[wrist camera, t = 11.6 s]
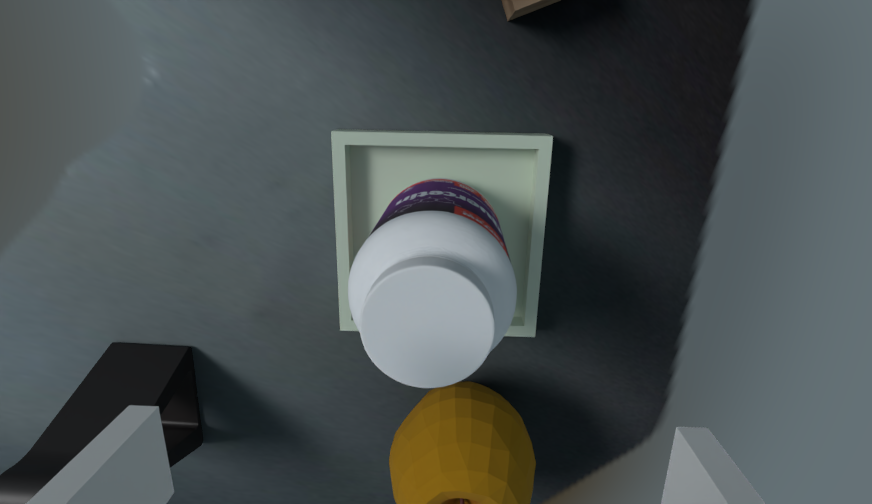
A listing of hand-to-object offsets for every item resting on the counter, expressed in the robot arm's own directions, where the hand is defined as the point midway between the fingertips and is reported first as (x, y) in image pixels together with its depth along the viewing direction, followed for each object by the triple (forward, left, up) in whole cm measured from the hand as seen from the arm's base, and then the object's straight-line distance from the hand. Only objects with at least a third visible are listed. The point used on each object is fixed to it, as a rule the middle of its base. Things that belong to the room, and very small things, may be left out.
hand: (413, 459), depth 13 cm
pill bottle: (0, 0, -22) cm, 22 cm away
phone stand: (+14, -22, -23) cm, 35 cm away
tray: (0, 0, -22) cm, 22 cm away
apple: (+14, +2, -23) cm, 27 cm away
